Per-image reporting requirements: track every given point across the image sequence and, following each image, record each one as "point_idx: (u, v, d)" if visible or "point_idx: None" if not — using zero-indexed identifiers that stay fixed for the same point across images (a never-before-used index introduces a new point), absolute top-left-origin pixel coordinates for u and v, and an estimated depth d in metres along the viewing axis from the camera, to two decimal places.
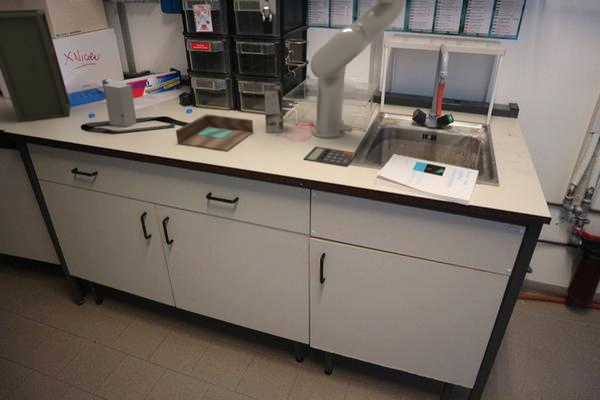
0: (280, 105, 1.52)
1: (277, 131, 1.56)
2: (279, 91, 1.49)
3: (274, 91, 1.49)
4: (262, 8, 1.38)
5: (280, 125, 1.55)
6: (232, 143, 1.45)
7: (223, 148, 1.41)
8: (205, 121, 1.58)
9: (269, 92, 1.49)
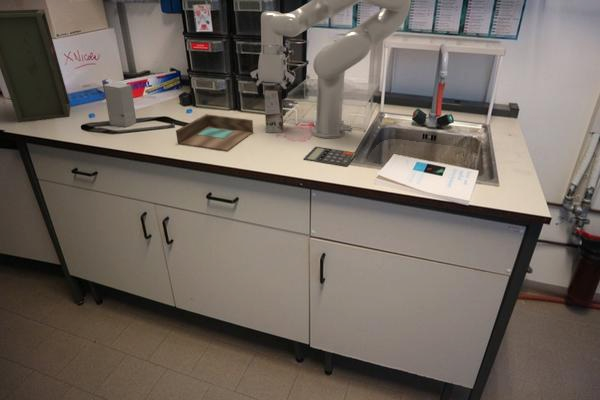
0: (280, 105, 1.52)
1: (277, 131, 1.56)
2: (279, 91, 1.49)
3: (274, 91, 1.49)
4: (283, 78, 1.48)
5: (280, 125, 1.55)
6: (232, 143, 1.45)
7: (223, 148, 1.41)
8: (205, 121, 1.58)
9: (269, 92, 1.49)
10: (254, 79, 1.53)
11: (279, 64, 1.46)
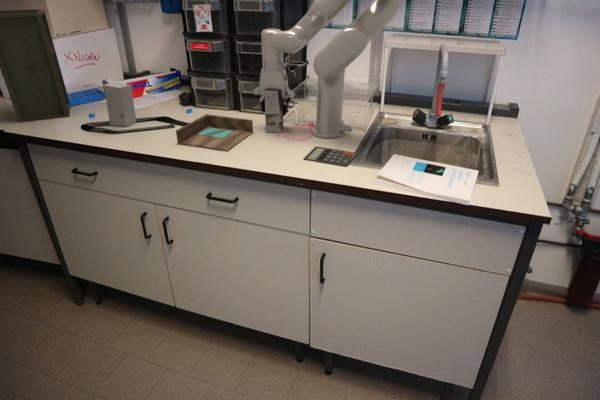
0: (280, 105, 1.52)
1: (277, 131, 1.56)
2: (279, 91, 1.49)
3: (274, 91, 1.49)
4: (284, 93, 1.51)
5: (280, 125, 1.55)
6: (232, 143, 1.45)
7: (223, 148, 1.41)
8: (205, 121, 1.58)
9: (269, 92, 1.49)
10: (257, 96, 1.56)
11: (281, 80, 1.48)
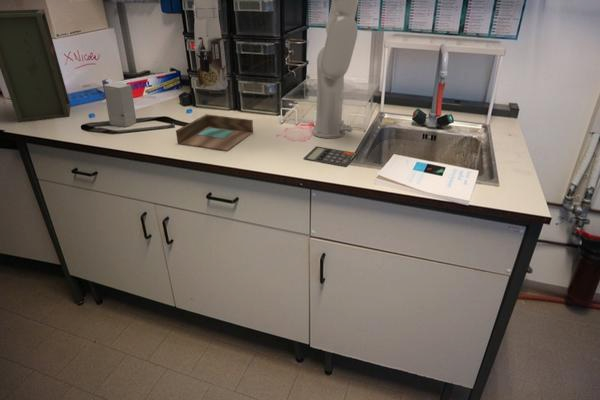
0: (224, 55, 1.43)
1: (227, 84, 1.47)
2: (223, 39, 1.41)
3: (222, 40, 1.39)
4: None
5: (226, 77, 1.47)
6: (232, 143, 1.45)
7: (223, 148, 1.41)
8: (205, 121, 1.58)
9: (221, 42, 1.38)
10: (202, 54, 1.35)
11: (219, 27, 1.39)
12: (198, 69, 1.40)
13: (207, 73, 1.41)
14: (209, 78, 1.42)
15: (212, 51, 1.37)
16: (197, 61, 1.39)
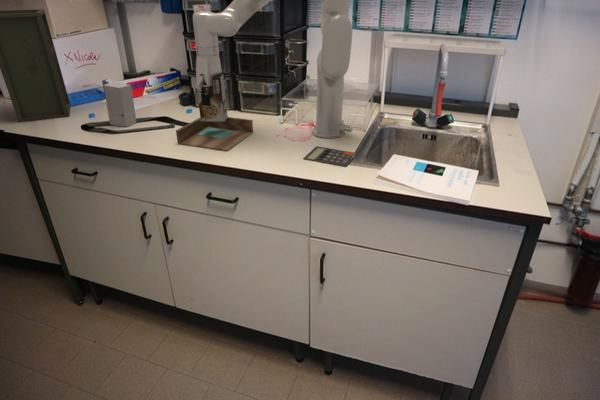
0: (224, 88, 1.49)
1: (227, 116, 1.52)
2: (223, 74, 1.46)
3: (222, 75, 1.44)
4: None
5: (226, 109, 1.52)
6: (232, 143, 1.45)
7: (223, 148, 1.41)
8: (205, 121, 1.58)
9: (221, 77, 1.43)
10: (203, 89, 1.40)
11: None
12: (199, 103, 1.46)
13: (208, 107, 1.46)
14: (210, 111, 1.47)
15: (213, 86, 1.43)
16: (198, 95, 1.44)
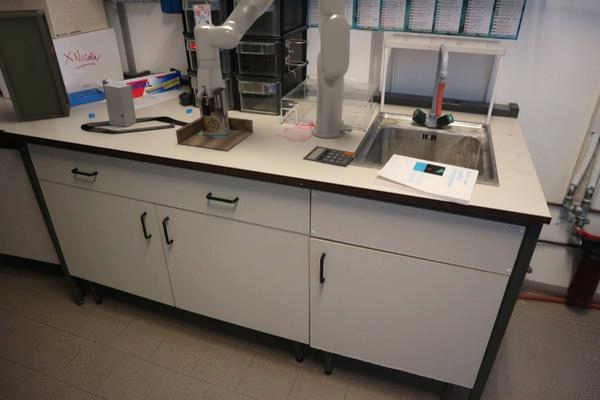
0: (226, 102, 1.51)
1: (229, 129, 1.55)
2: (224, 88, 1.49)
3: (223, 90, 1.47)
4: None
5: (228, 122, 1.55)
6: (232, 143, 1.45)
7: (223, 148, 1.41)
8: None
9: (223, 92, 1.46)
10: (204, 100, 1.42)
11: (221, 74, 1.47)
12: (201, 117, 1.49)
13: (210, 121, 1.49)
14: (212, 125, 1.50)
15: (214, 101, 1.45)
16: (200, 110, 1.47)
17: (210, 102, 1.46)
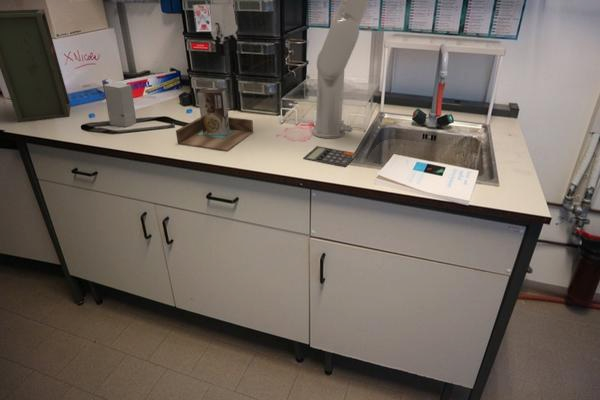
0: (226, 103, 1.51)
1: (229, 130, 1.55)
2: (225, 89, 1.49)
3: (224, 90, 1.47)
4: None
5: (228, 123, 1.55)
6: (232, 143, 1.45)
7: (223, 148, 1.41)
8: None
9: (223, 92, 1.46)
10: (218, 38, 1.37)
11: (234, 13, 1.42)
12: (202, 117, 1.48)
13: (210, 121, 1.49)
14: (212, 125, 1.50)
15: (215, 101, 1.45)
16: (201, 110, 1.47)
17: (210, 102, 1.45)
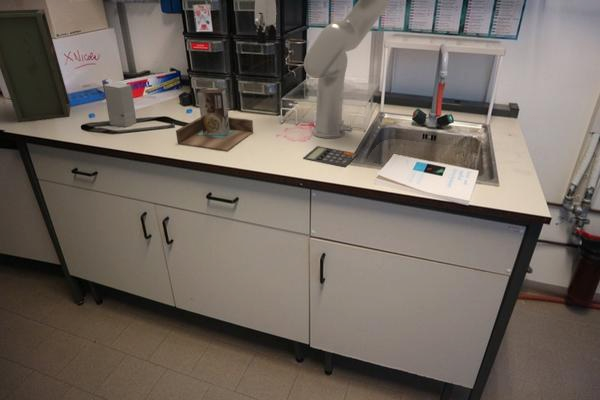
0: (226, 103, 1.51)
1: (229, 130, 1.55)
2: (225, 89, 1.49)
3: (224, 90, 1.47)
4: None
5: (228, 123, 1.55)
6: (232, 143, 1.45)
7: (223, 148, 1.41)
8: None
9: (223, 92, 1.46)
10: (261, 26, 1.48)
11: (275, 4, 1.53)
12: (202, 117, 1.48)
13: (210, 121, 1.49)
14: (212, 125, 1.50)
15: (215, 101, 1.45)
16: (201, 110, 1.47)
17: (210, 102, 1.45)
